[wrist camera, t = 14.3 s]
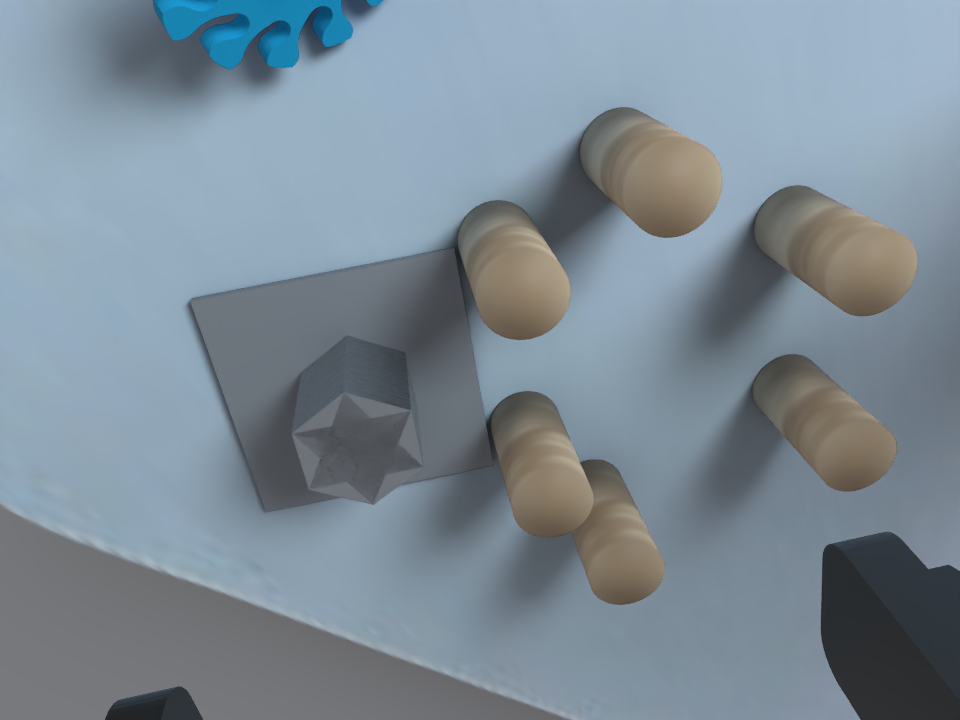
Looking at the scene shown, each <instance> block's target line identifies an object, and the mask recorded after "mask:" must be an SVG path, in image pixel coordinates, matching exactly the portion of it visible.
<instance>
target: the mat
mask: <svg viewBox="0 0 960 720" xmlns="http://www.w3.org/2000/svg"><path fill="white" fill-rule="evenodd" d="M190 303H191V305H192V308H193V311H194V314H195V317H196V319H197V322H198V325H199V328H200V330H201V333H202V336H203V339H204V342H205V344H206V347H207V350H208V353H209V355H210V358H211V361H212V364H213V367H214V369H215V372H216V375H217V378H218V381H219V383H220V386H221V389H222V392H223V394H224V397H225V400H226V403H227V406H228V408H229V411H230V414H231V417H232V419H233V422H234V425H235V428H236V431H237V433H238V436H239V439H240V442H241V445H242V447H243V450H244V453H245V456H246V458H247V461H248V464H249V467H250V470H251V472H252V475H253V478H254V481H255V483H256V486H257V489H258V492H259V495H260V497H261V500H262V503H263V506H264V508H265V511H266V512H271V511H276V510H280V509H285V508H290V507H295V506H300V505H305V504H310V503H314V502H319V501H324V500H329V499H334V498H339V497H338V496H334V495H329V494H325V493H321V492H317V491H312V490H309V488H308V485H307V482H306V479H305V475H304V472H303V469H302V466H301V463H300V459H299V456H298V453H297V450H296V446H295V443H294V440H293V437H292V428H293V422H294V415H295V409H296V403H297V396H298V390H299V384H300V377H301V372H302V371H303V370H305V369H306V368H307V367H308V366H309V365H311V364H312V363H313V362H314V361H316V360H317V359H318V358H319V357H320V356H322V355H323V354H324V353H325V352H327V351H328V350H329V349H330V348H332V347H333V346H334V345H335V344H336V343H338V342H339V341H340V340H341V339H343V338H344V337H345V336H346V335H348V336H351V337H355V338H358V339H361V340H365V341H368V342H372V343H375V344H379V345H382V346H385V347H389V348H392V349H396V350H399V351H403V352H405V353H406V358H407V362H408V367H409V372H410V376H411V381H412V386H413V390H414V395H415V399H416V405H417V413H418V422H419V431H420V439H421V448H422V457H423V465H424V467H423V468H422V469H420V470H419V471H418V472H416V473H415V474H414V475H412V476H411V477H410V478H408V479H407V480H406V481H404V482H403V483H402V484H406V483H411V482H416V481H421V480H426V479H430V478H435V477H440V476H445V475H450V474H455V473H459V472H464V471H469V470H474V469H479V468H484V467H489V466H493V460H492V454H491V449H490V443H489V437H488V432H487V426H486V421H485V415H484V410H483V404H482V399H481V393H480V388H479V382H478V377H477V371H476V366H475V360H474V354H473V349H472V343H471V338H470V332H469V327H468V321H467V316H466V310H465V305H464V299H463V294H462V288H461V283H460V277H459V272H458V266H457V260H456V255H455V250H454V248H448V249H443V250H438V251H433V252H428V253H423V254H418V255H412V256H407V257H402V258H397V259H392V260H387V261H381V262H376V263H371V264H366V265H361V266H356V267H350V268H345V269H340V270H335V271H330V272H325V273H320V274H314V275H309V276H304V277H299V278H294V279H289V280H283V281H278V282H273V283H268V284H263V285H258V286H253V287H247V288H242V289H237V290H232V291H227V292H222V293H216V294H211V295H206V296H201V297H196V298H192V299H191V301H190ZM400 485H401V484H400Z"/></svg>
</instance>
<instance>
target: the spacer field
mask: <svg viewBox="0 0 960 720" xmlns="http://www.w3.org/2000/svg"><path fill="white" fill-rule="evenodd" d="M580 161H581V165H582V168H583V170H584V172H585V174H586V175H587V176H588V178H589V179H590V180H591V181H592V182H593V183H594V184H595V185H596V186H597V187H598V188H599V189H600V190H601V191H603V192H604V193H605V194H606V195H607V196H608V197H609V198H610V199H611V200H612V201H613V202H614V203H615V204H616V205H617V206H618V207H619V208H620V209H621V210H622V211H623V212H624V213H625V214H626V215H627V216H628V217H629V218H630V219H632V220H633V221H634V222H635V223H636V224H637V225H638V226H639V227H640V228H641V229H642V230H644V231H645V232H647V233H649V234H651V235H654V236H657V237H664V238H671V237H677V236H681V235H684V234H687V233H689V232H691V231H693V230H695V229H696V228H698V227H699V226H700V225H701V224H703V223H704V222H705V221H706V220H707V219H708V217H709V216H710V215H711V214H712V212H713V211H714V209H715V207H716V205H717V203H718V201H719V198H720V195H721V190H722V173H721V168H720V166H719V163H718V161H717V159H716V157H715V156H714V155H713V153H712V152H711V151H710V150H709V149H708V148H706V147H705V146H703V145H702V144H700V143H698V142H696V141H694V140H692V139H690V138H689V137H687V136H685V135H683V134H681V133H679V132H677V131H676V130H674V129H672V128H670V127H668V126H666V125H665V124H663V123H661V122H659V121H657V120H655V119H653V118H652V117H650V116H648V115H646V114H644V113H642V112H640V111H638V110H636V109H633V108H627V107H621V108H614V109H611V110H608V111H606V112H604V113H602V114H601V115H599V116H598V117H597V118H596V119H595V120H593V121H592V123H591V124H590V125H589V126H588V128H587V129H586V131H585V133H584V135H583V138H582V141H581V145H580ZM754 237H755V241H756V244H757V245H758V247H759V248H760V250H761V251H762V252H763V253H765V254H766V255H767V256H769V257H770V258H771V259H773V260H774V261H776V262H777V263H778V264H780V265H781V266H782V267H784V268H785V269H787V270H788V271H789V272H791V273H792V274H793V275H795V276H796V277H798V278H799V279H800V280H802V281H803V282H804V283H806V284H807V285H809V286H810V287H811V288H813V289H814V290H815V291H817V292H818V293H820V294H821V295H822V296H824V297H825V298H826V299H828V300H829V301H830V302H832V303H833V304H835V305H836V306H837V307H839V308H840V309H841V310H843V311H844V312H846V313H848V314H851V315H855V316H869V315H874V314H877V313H880V312H882V311H884V310H886V309H888V308H890V307H891V306H893V305H894V304H895V303H896V302H898V301H899V300H900V299H901V298H902V297H903V296H904V294H905V293H906V292H907V291H908V289H909V288H910V286H911V284H912V282H913V280H914V278H915V275H916V272H917V266H918V258H917V252H916V249H915V247H914V245H913V244H912V242H911V241H910V240H909V239H908V238H907V237H906V236H904V235H902V234H900V233H898V232H896V231H894V230H892V229H890V228H888V227H886V226H884V225H882V224H880V223H879V222H877V221H875V220H873V219H871V218H869V217H867V216H865V215H863V214H861V213H859V212H857V211H855V210H853V209H851V208H849V207H847V206H845V205H843V204H841V203H839V202H837V201H835V200H833V199H831V198H829V197H827V196H825V195H823V194H821V193H819V192H817V191H815V190H813V189H811V188H809V187H806V186H790V187H786V188H784V189H781V190H779V191H777V192H776V193H774V194H773V195H772V196H771V197H769V198H768V199H767V200H766V201H765V203H764V204H763V205H762V206H761V208H760V210H759V212H758V214H757V216H756V219H755V223H754ZM458 248H459V252H460V255H461V258H462V261H463V264H464V267H465V271H466V274H467V277H468V280H469V283H470V286H471V289H472V292H473V295H474V298H475V301H476V304H477V308H478V311H479V313H480V316H481V318H482V319H483V321H484V323H485V324H486V325H487V326H488V327H489V328H490V329H491V330H492V331H494V332H495V333H496V334H498V335H500V336H503V337H505V338H509V339H515V340H526V339H532V338H535V337H538V336H541V335H543V334H545V333H547V332H548V331H550V330H551V329H552V328H553V327H555V326H556V325H557V324H558V323H559V321H560V320H561V319H562V317H563V316H564V314H565V312H566V311H567V308H568V305H569V302H570V295H571V290H570V283H569V279H568V276H567V275H566V273H565V271H564V269H563V268H562V266H561V265H560V263H559V261H558V260H557V258H556V257H555V255H554V254H553V252H552V251H551V249H550V248H549V246H548V244H547V243H546V241H545V240H544V238H543V237H542V235H541V234H540V232H539V231H538V229H537V227H536V226H535V224H534V223H533V221H532V220H531V218H530V217H529V215H528V214H527V213H526V212H525V211H524V210H523V209H522V208H521V207H519V206H518V205H516V204H514V203H511V202H508V201H501V200H496V201H489V202H486V203H483V204H481V205H479V206H477V207H476V208H474V209H473V210H472V211H470V212H469V213H468V215H467V216H466V217H465V218H464V220H463V222H462V224H461V226H460V228H459V232H458ZM752 393H753V399H754V401H755V403H756V405H757V406H758V407H759V408H760V409H761V411H762V412H763V413H764V414H765V415H766V416H767V417H768V418H769V420H770V421H771V422H772V423H773V424H774V425H775V426H776V428H777V429H778V430H779V431H780V432H781V433H782V434H783V435H784V437H785V438H786V439H787V440H788V441H789V442H790V443H791V444H792V446H793V447H794V448H795V449H796V450H797V451H798V452H799V454H800V455H801V456H802V457H803V458H804V459H805V460H806V461H807V463H808V464H809V465H810V466H811V467H812V468H813V469H814V471H815V472H816V473H817V474H818V475H819V476H820V477H821V478H822V480H823V481H824V482H825V483H826V484H827V485H828V486H829V487H831V488H833V489H835V490H839V491H855V490H859V489H862V488H865V487H867V486H869V485H871V484H873V483H875V482H876V481H877V480H879V479H880V478H881V477H882V476H883V475H884V474H885V473H886V472H887V471H888V470H889V468H890V467H891V465H892V464H893V461H894V459H895V456H896V452H897V443H896V440H895V437H894V435H893V434H892V433H891V432H890V431H889V430H888V429H887V428H886V427H885V426H883V425H882V424H881V423H880V422H879V421H878V420H877V419H876V418H875V417H873V416H872V415H871V414H870V413H869V412H868V411H867V410H866V409H864V408H863V407H862V406H861V405H860V404H859V403H858V402H857V401H856V400H854V399H853V398H852V397H851V396H850V395H849V394H848V393H847V392H845V391H844V390H843V389H842V388H841V387H840V386H839V385H838V384H836V383H835V382H834V381H833V380H832V379H831V378H830V377H829V376H828V375H826V374H825V373H824V372H823V371H822V370H821V369H820V368H819V367H817V366H816V365H815V364H814V363H813V362H812V361H811V360H810V359H808V358H806V357H804V356H801V355H796V354H790V355H785V356H781V357H778V358H776V359H774V360H772V361H771V362H769V363H768V364H767V365H766V366H765V367H764V368H763V369H762V370H761V371H760V372H759V374H758V375H757V377H756V379H755V381H754V384H753V390H752ZM490 428H491V432H492V436H493V440H494V444H495V447H496V451H497V455H498V459H499V462H500V466H501V470H502V474H503V477H504V481H505V485H506V488H507V492H508V496H509V500H510V503H511V507H512V511H513V515H514V518H515V520H516V522H517V524H518V525H519V526H520V527H521V528H522V529H523V530H524V531H526V532H528V533H530V534H532V535H535V536H539V537H557V536H561V535H564V534H567V533H569V532H571V533H572V536H573V539H574V541H575V544H576V547H577V550H578V552H579V555H580V558H581V561H582V564H583V566H584V569H585V572H586V575H587V577H588V580H589V583H590V586H591V588H592V591H593V592H594V594H595V595H596V596H597V597H598V598H599V599H601V600H603V601H605V602H607V603H611V604H618V605H622V604H630V603H634V602H637V601H640V600H642V599H644V598H645V597H647V596H649V595H650V594H651V593H652V592H654V591H655V590H656V589H657V587H658V586H659V585H660V583H661V581H662V579H663V577H664V573H665V565H664V561H663V559H662V557H661V555H660V553H659V551H658V549H657V547H656V545H655V543H654V541H653V539H652V537H651V535H650V533H649V531H648V529H647V527H646V525H645V523H644V521H643V519H642V517H641V515H640V513H639V511H638V509H637V507H636V505H635V503H634V501H633V499H632V497H631V495H630V493H629V491H628V489H627V487H626V485H625V483H624V481H623V479H622V477H621V475H620V473H619V471H618V470H617V468H616V467H615V466H613V465H612V464H610V463H608V462H606V461H602V460H587V461H583V462H580V461H579V459H578V456H577V454H576V452H575V449H574V447H573V445H572V442H571V440H570V438H569V435H568V433H567V431H566V428H565V426H564V424H563V421H562V419H561V417H560V414H559V412H558V410H557V408H556V406H555V404H554V403H553V402H552V400H550V399H549V398H548V397H547V396H545V395H543V394H540V393H537V392H531V391H525V392H519V393H515V394H513V395H510V396H508V397H507V398H505V399H504V400H502V401H501V402H500V403H499V404H498V405H497V407H496V408H495V410H494V411H493V413H492V416H491V420H490Z"/></svg>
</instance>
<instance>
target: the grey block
mask: <svg viewBox="0 0 960 720" xmlns="http://www.w3.org/2000/svg"><path fill="white" fill-rule="evenodd" d="M292 437H293V440H294V443H295V446H296V450H297V453H298V456H299V459H300V463H301V466H302V469H303V472H304V475H305V479H306V482H307V485H308V488H309V490H312V491H317V492H321V493H325V494H329V495H334V496H338V497H342V498H347V499H351V500H355V501H360V502H364V503H368V504H372V505H374V504H375V503H376V502H378V501H379V500H380V499H382V498H383V497H384V496H386V495H387V494H388V493H390V492H391V491H392V490H394V489H395V488H396V487H398V486H399V485H400V484H402V483H403V482H404V481H406V480H407V479H408V478H410V477H411V476H412V475H414V474H415V473H416V472H418V471H419V470H420V469H422V468H423V467H424V465H423V457H422V448H421V439H420V431H419V422H418V413H417V405H416V399H415V395H414V390H413V386H412V381H411V376H410V372H409V367H408V362H407V358H406V353H405V352H403V351H399V350H396V349H392V348H389V347H385V346H382V345H379V344H375V343H372V342H368V341H365V340H361V339H358V338H355V337H351V336H348V335H346V336H345V337H344V338H343V339H341V340H340V341H339V342H338V343H336V344H335V345H334V346H333V347H332V348H330V349H329V350H328V351H327V352H325V353H324V354H323V355H322V356H320V357H319V358H318V359H317V360H316V361H314V362H313V363H312V364H311V365H309V366H308V367H307V368H306V369H305V370H303V371H302V372H301V377H300V384H299V390H298V396H297V403H296V409H295V415H294V422H293V428H292Z"/></svg>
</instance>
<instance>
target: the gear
mask: <svg viewBox="0 0 960 720" xmlns="http://www.w3.org/2000/svg"><path fill="white" fill-rule="evenodd" d="M366 1H367V2H368V3H369V4H370V5H371V6H376V5H378V4H379V3H381V2H382V1H383V0H366ZM153 5H154V8H155V11H156V13H157V15H158V17H159V19H160V21H161V22H162V24H163V26H164V27H165V29H166V30H167V32H168V34H169V35H170V37H171V39H172V40H182V39H184V38H187V37H188V36H190V35H191V34H192V33H193V32H194V31H195V30H196V29H197V28H198V27H200V26H201V25H202V24H204V23H205V22H207V21H209V20H211V19H214V18H216V17H219V16H224V15H229V14H235V13H239V14H238V16H237V18H236V19H235V20H234V21H232V22H230V23H227V24H222V25H216V26H212V27H210V28H208V29H207V30H206V31H205V32H204V33H203V34H202V36H201V38H200V41H201V43H202V44H203V46H204V48H205V49H206V51H207V52H208V54H209V55H210V57H211V58H212V59H213V60H214V61H215V62H216V63H218V64H219V65H221V66H223V67H225V68H227V69H232V68H234V67H235V66H237V65H238V64H239V63H240V61H241V60H242V58H243V55H244V52H245V50H246V48H247V46H248V44H249V43H250V42H251V40H252V39H253V38H254V37H255V36H256V35H257V34H258V33H259V32H260V31H262V30H263V29H264V28H266V27H267V26H269V25H270V24H271V23H273V22H275V21H279V20H280V21H279V23H278V24H277V26H275V27H274V28H273V29H271V30H270V31H268V32H267V33H266V34H264V35H263V36H262V38H261V39H260V41H259V43H258V51H259V53H260V54H261V56H262V57H263V59H264V60H265V62H266V63H267V65H269V66H272V67H277V68H287V67H293V66H294V65H295V64H296V62H297V61H298V58H299V50H298V39H299V34H300V31H301V29H302V27H303V25H304V23H305V21H306V20H307V18H308V16H309V15H310V13H311V12H312V11H313V10H314V9H315V8H317V7H320V6H321V8H320V10H319V11H318V13H317V15H316V16H315V18H314V21H313V29H314V31H315V33H316V34H317V36H318V37H319V38H320V40H321V41H322V43H323V44H324V45H325V46H326V47H331V46H334V45H337V44H339V43H342V42H344V41H346V40H347V39H349V38H351V36H352V33H353V28H352V25H351V24H350V22H349V21H348V20H347V18H346V17H345V15H344V14H343V11H342V7H341V0H153Z"/></svg>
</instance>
